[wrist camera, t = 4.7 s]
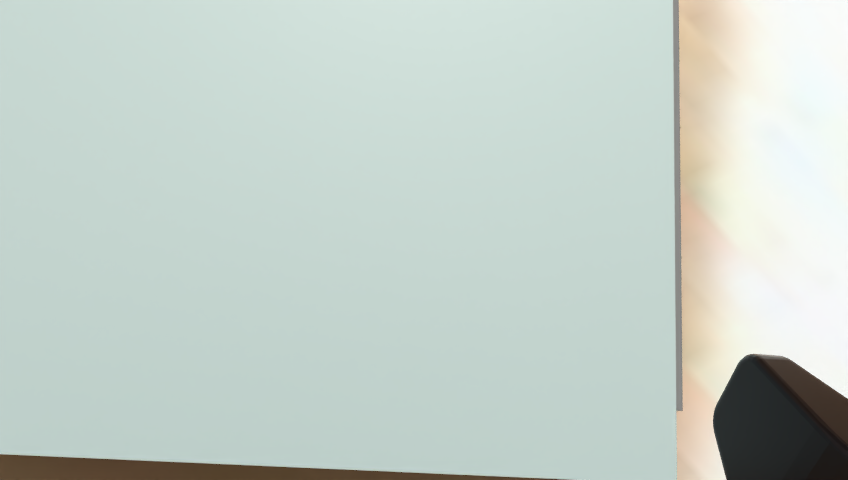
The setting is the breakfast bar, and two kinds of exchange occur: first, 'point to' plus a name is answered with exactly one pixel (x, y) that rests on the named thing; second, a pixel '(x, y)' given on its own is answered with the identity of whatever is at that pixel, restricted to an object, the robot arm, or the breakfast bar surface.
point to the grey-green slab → (340, 234)
